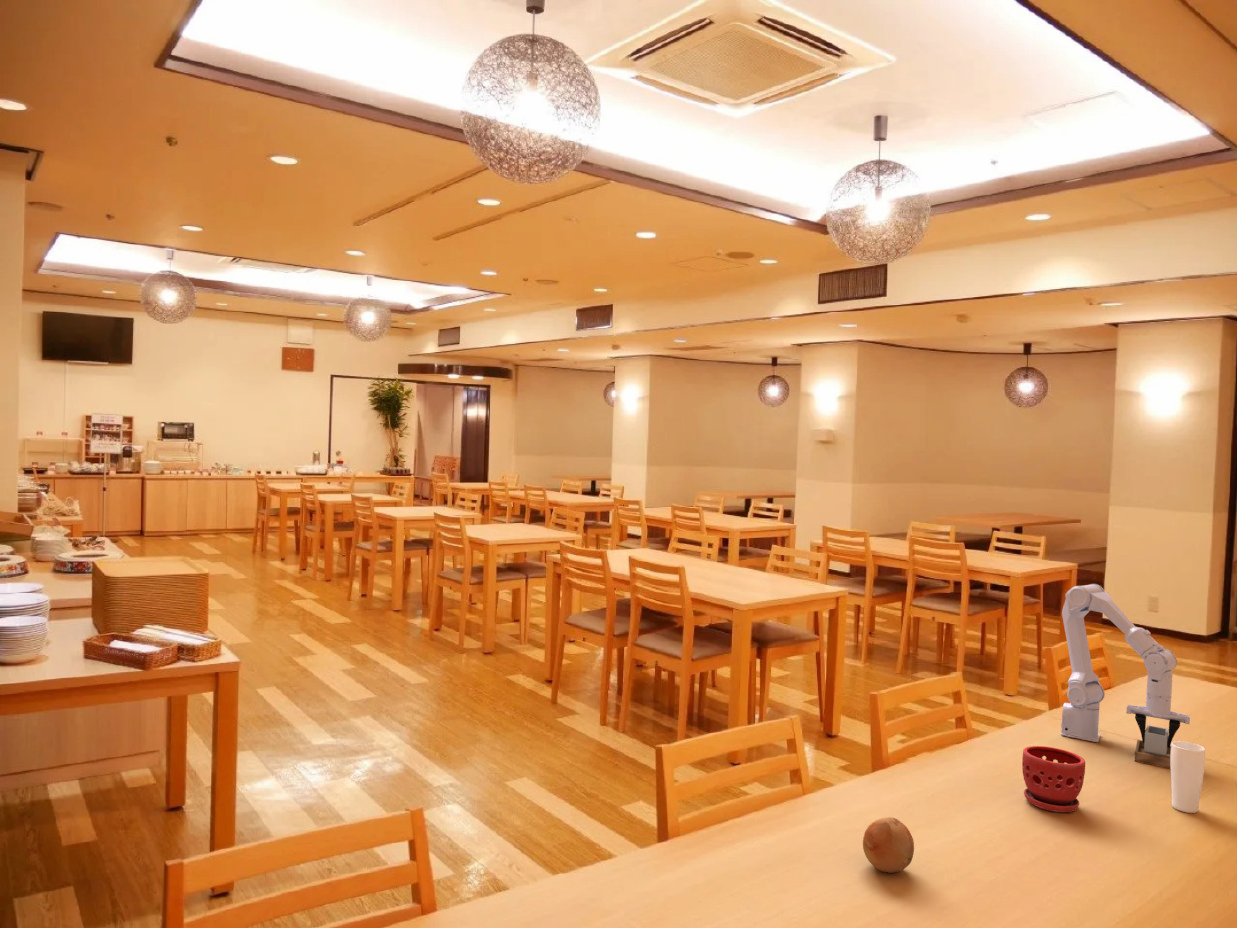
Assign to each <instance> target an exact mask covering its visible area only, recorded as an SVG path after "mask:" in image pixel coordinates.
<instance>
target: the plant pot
mask: <svg viewBox="0 0 1237 928" xmlns="http://www.w3.org/2000/svg"><path fill="white" fill-rule="evenodd" d="M1043 757H1045V759H1043ZM1055 761H1057V762H1055ZM1021 767H1022V768H1021V769H1022V777H1023V781H1024V783H1025V786H1026V789H1024V791H1023V795H1024V797H1025V799H1026V800H1027V801H1028V802H1029V803H1030V804H1032V805H1034V806H1035V807H1037V808H1040V809H1043V810H1046V811H1049V812H1050V813H1054V812H1055V813H1056V812H1057V813H1068V812H1072V811H1073V812H1074V811H1075V810H1076V809H1078V808H1079V806H1080V801H1079V799H1078V798H1077V797H1079V795H1080V793H1081V792H1082V788H1083V785H1084V782H1085V781H1084V779H1085V774H1086V761H1085V758H1083V757H1082V756H1081V755H1079V754H1076V753H1075V752H1073V751H1068V750H1065V749H1061V748H1056V747H1050V746H1042V745H1032V746H1026V747H1025V748H1023V750H1022V766H1021Z"/></svg>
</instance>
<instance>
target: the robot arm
mask: <svg viewBox="0 0 1237 928" xmlns="http://www.w3.org/2000/svg"><path fill="white" fill-rule="evenodd" d="M1064 595H1065V596H1064V597H1065V600H1064V603H1063V607H1062V610H1061V616H1062V621H1063V627H1064V632H1065V634H1064V635H1065V638H1066V644H1067V650H1068V654H1069V655H1068V657H1069V663H1070V668H1071V674H1070V676H1069V678H1068V680H1067V683H1068V688H1067V692H1066V695H1067V699H1068V701H1069V702H1064V703H1063V705H1062V713H1061V724H1060V727H1061V733H1060V735H1061V736H1063V737H1069V738H1074V739H1078V740H1083V741H1088V742H1094V743H1099V741H1100V738H1101V733H1099V723H1100V722H1099V721H1100V703H1101V702H1102V701H1104V699H1105V694H1106V692H1105V689H1104V687H1103V686H1102V684H1101V683H1100V679H1099V676H1098V675H1097V674H1096V673H1095V672H1094V669H1093V663H1092V657H1091V652H1090V648H1089V642H1088V635H1087V630H1086V629H1087V628H1086V624H1085V616H1087V614H1089V612H1090V611H1091V612H1092V611H1093V612H1097V613H1101V614H1103V615H1104V616H1105V617H1106V618H1107V619H1108V620H1110V621H1111V623H1113V624H1114V626H1116V627H1117V628H1118V629H1119V630H1120V631H1121V632H1122V633H1123V634H1124V640H1125V642H1126V643H1127V644H1128V645H1129V646H1130V647H1131V648H1132V649H1133V650H1134V651H1135V652H1136V653H1137V654H1138V655H1139V656H1140V658H1141V659H1142V660H1143V665H1144V667H1145V669H1146V670H1147V678H1146V682H1147V683H1146V695H1145V696H1146V697H1145V699H1146V700H1145V706H1141V705H1140V706H1139V705H1130V704H1127V705H1126V714H1128V715H1129V714H1130V715H1131V714H1132V715H1135V716H1134V718H1135V719H1134V720H1135V721H1136V724H1137V725H1138V728H1139V732H1140V734H1141V740H1142V743H1145V731H1146V728H1147V717H1150V718H1155V719H1160V720H1161V719H1162V720H1165V721H1168V729H1169V732H1168V741H1167V748H1170V746H1171V743H1172V742H1173V738H1174V737H1175V735H1176V733H1177V731H1178V730H1179V729H1180V727H1181V723H1183V724H1185V725H1190V723H1191V716H1190V715H1188V714H1183V713H1179V712H1176V711H1172V710H1171V709H1172V693H1173V692H1172V691H1173V690H1172V689H1173V673H1174V671H1173V670H1175V669H1176V667H1177V665H1178V660H1177V657H1176V655H1175V654H1174V652H1173V651H1171V650H1169V649H1167V648H1166V649H1165V647H1164V646H1163V645H1162V644H1159V643H1158V642H1157V641H1156V640H1155V638H1153V636H1151V634H1152V633H1151V632H1150V631H1149V630H1148V629H1145V628H1143V627H1138V626H1136V625H1135V624H1134V623H1133V622H1132V621H1131V620H1130V618H1129V617H1128V616H1127V615H1126V614H1125V613H1124V612H1123V610H1121V608H1120V607H1119V606H1118V604H1116V603H1115V601H1114V600H1113V599H1112V597H1111V595H1110V594H1109V593H1108V592H1107V591H1105V589H1104V588H1103V587H1102V585H1099V584H1097V583H1089V584H1085V585H1076V586H1075V585H1074V586H1072V587H1071V588H1070V589H1069V590H1067V592H1066V593H1065V594H1064Z"/></svg>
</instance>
